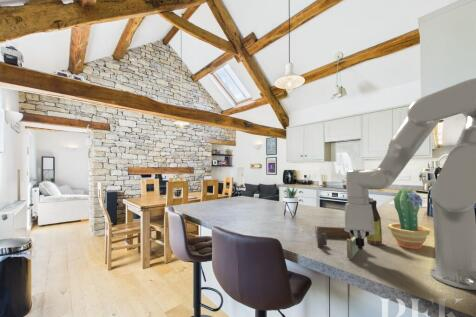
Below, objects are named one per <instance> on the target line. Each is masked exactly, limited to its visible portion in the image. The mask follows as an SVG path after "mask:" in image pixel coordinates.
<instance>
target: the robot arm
mask: <svg viewBox="0 0 476 317" xmlns="http://www.w3.org/2000/svg"><path fill="white" fill-rule="evenodd" d="M460 114H462V115H463V116H464V117H465V124H464V127H463V128H462V130H461V132H460V136H458V139H457V141H456V143H455V145H454V146H453V148H452V149H451V150H450V151H449V153H448V154H447V157H446V160H445V161H444V163H443V164H442V167H441V169H440V171H439V172H438V175H437V178H436V179H435V181H434V183H433V184H432V186H431V188H430V197H431V204H432V205H431V206H432V222H433V223H432V224H433V237H434V252H435V256H434V257H435V266H436V267H435V266H434V267H432V268H430V269H429V273H430V276H432V278H434V279H436V281H439V282H441V283H444V284H446V285H449V286H452V287H456V288H459V289H463V290H470V291H476V214H475V211H476V210H475V204H476V78H470V79H468V80H467V79H466V80H464V81H461V82H459V83H456V84H454V85H451V86H448V87H445V88H443V89H440V90H438V91H435V92H432V93H430V94H427V95H424V96H422V97H419V98H418V99H416V100H414V101H413V102H412V103H411V104H410V105H409V107H408V108H407V116H406V117H405V118H404V120H403V122H402V123H401V125H400V126H399V127H398V129H397V130H396V132H395V133H394V135H393V136H392V137H391V139H390V140H389V143H388V149H387V152H386V154H385V156H384V158H383V159H382V161H381V162H380V164H379V165H378V166H377V168H376V169H375V168H374V169H368V170H365V169H349V170H348V171H346V173H345V175H346V176H345V178H346V195H347V199H346V200H347V202H346V203H345V206H344V228H345V229H344V230H345V231H346V232H350V233H351V234H352V235H353V236H354V237H355V238H356V246H358V249H362V250H363V248H364V247H365V239H366V238H367V236H368V235H372V234H375V230H374V217H373V210H372V206H371V204H369V203H370V202H373V200H374V198H371V197H370V196H369V194H370V193H369V189H371V190H384V189H386V188H388V187H390V186H392V185H393V183H394V182H396V180H397V178H398V177H399V176H400V174H401V173H402V172H403V171H404V169H405V168H406V166H407V165H408V164H409V162H410V161H411V159H412V158H413V157H414V156H415V154H416V153H417V151H418V150H420V147H422V145H423V144H424V142H425V141H426V140H427V138H428V137H429V136H430V134H431V133H432V132H433V131H434V130H435V128H436V126H437V125H438V123H439V122H441V120H443V119H447V118H450V117H454V116H457V115H460ZM357 230H359V231H361V236H360V237H359V235H358V233H357Z"/></svg>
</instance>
